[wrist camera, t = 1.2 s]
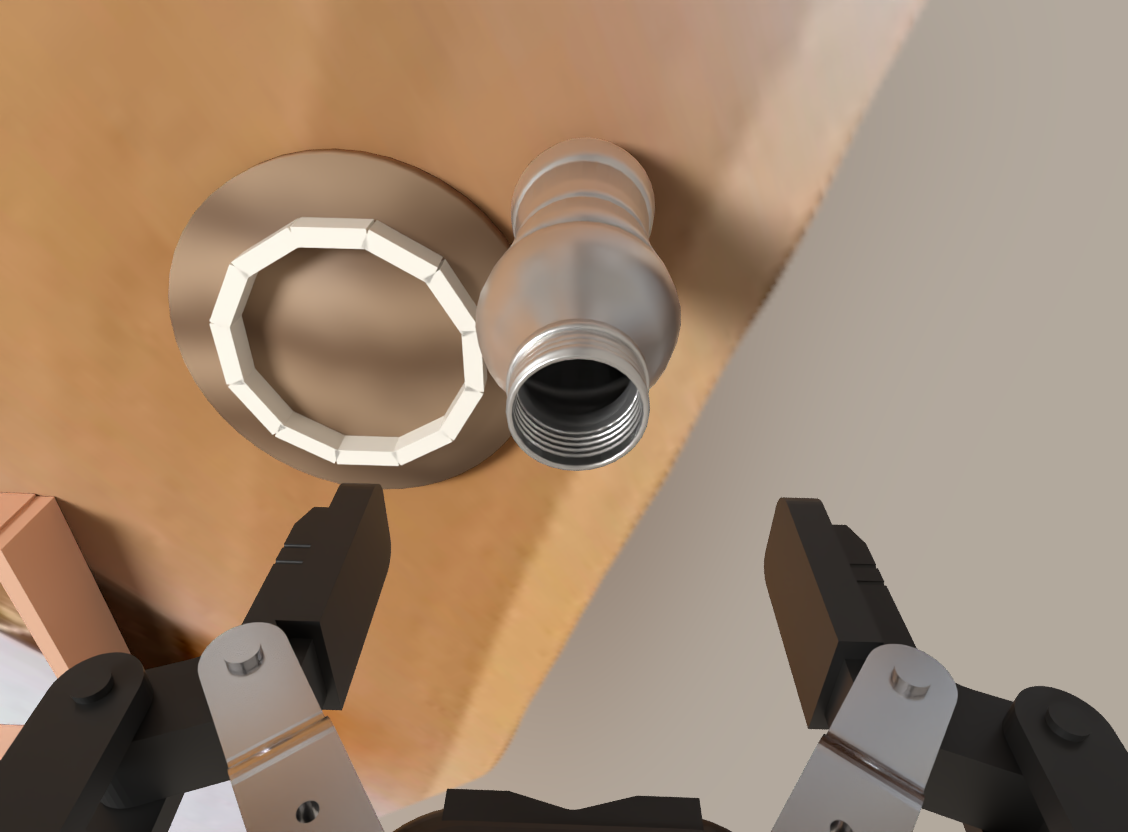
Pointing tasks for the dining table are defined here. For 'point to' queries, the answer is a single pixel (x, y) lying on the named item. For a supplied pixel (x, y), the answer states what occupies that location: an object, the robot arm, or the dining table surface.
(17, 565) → the peach open square frame
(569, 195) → the plastic bottle
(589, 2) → the dining table surface
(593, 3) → the dining table surface
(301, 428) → the ring
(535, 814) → the robot arm
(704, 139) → the dining table surface
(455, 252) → the round tan coaster
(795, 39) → the dining table surface
